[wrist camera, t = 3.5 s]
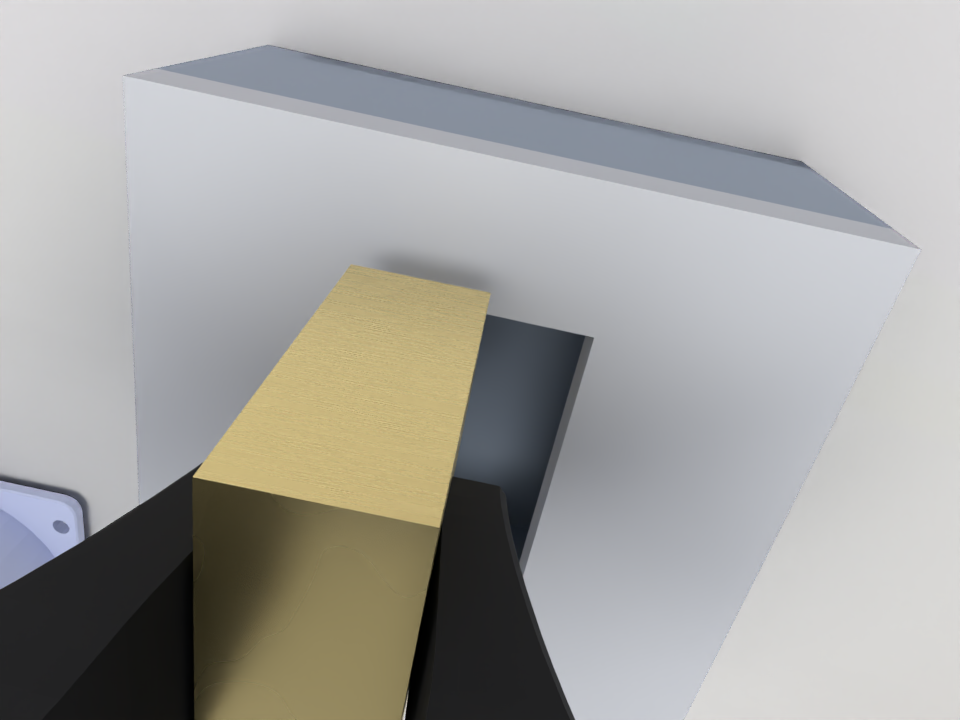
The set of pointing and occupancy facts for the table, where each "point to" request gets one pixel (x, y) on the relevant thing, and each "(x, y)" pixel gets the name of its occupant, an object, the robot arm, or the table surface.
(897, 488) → the table surface
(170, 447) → the coin box
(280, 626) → the block
